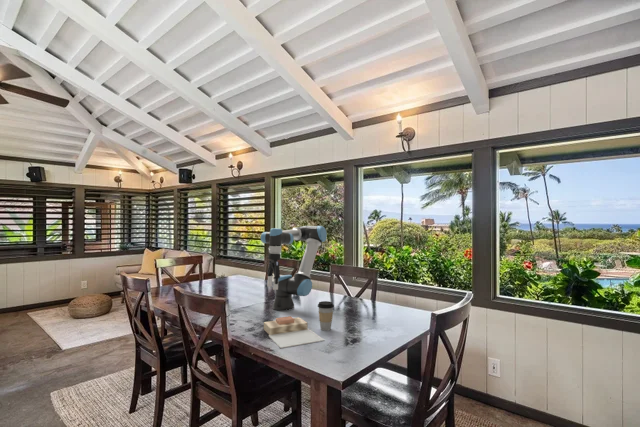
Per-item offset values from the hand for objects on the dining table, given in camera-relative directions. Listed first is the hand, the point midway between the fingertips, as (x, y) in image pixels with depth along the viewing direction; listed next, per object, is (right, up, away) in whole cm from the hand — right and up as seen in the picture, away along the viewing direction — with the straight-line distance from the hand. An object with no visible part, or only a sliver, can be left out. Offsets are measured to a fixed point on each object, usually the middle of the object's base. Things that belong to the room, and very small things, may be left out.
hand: (272, 288), depth 199 cm
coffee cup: (+32, -21, -13) cm, 41 cm away
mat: (+17, -20, -28) cm, 38 cm away
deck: (+10, -20, -14) cm, 27 cm away
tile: (+9, -16, -13) cm, 23 cm away
